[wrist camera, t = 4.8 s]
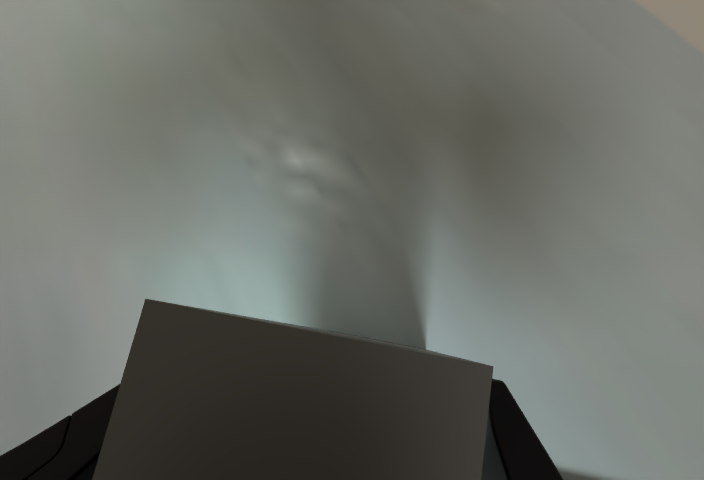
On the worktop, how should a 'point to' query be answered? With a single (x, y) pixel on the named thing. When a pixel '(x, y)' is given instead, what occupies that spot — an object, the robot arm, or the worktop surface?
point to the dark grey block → (288, 404)
